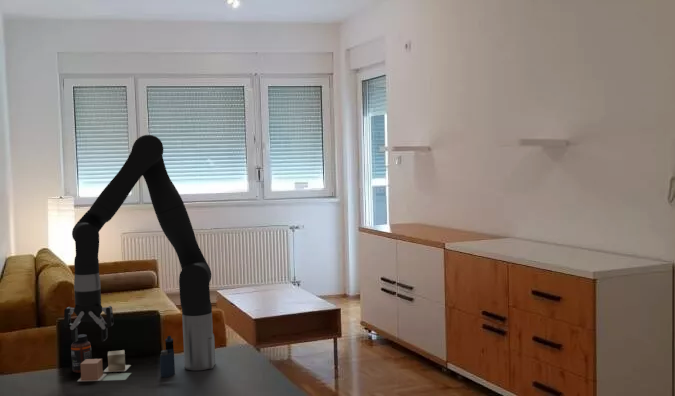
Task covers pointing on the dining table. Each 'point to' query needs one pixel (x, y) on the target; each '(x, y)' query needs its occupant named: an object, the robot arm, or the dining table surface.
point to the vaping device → (167, 359)
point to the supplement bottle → (80, 352)
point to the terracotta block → (91, 369)
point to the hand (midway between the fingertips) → (89, 341)
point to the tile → (118, 370)
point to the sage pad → (116, 376)
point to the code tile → (94, 380)
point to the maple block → (116, 360)
